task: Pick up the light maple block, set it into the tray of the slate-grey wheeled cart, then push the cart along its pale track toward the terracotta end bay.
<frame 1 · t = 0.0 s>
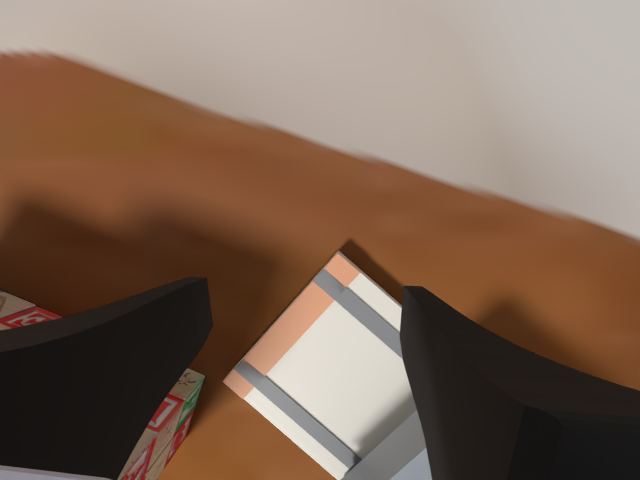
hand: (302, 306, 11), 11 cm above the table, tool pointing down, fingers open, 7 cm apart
track board: (392, 411, 22), on the table
stack of blocks: (82, 356, 25), on the table
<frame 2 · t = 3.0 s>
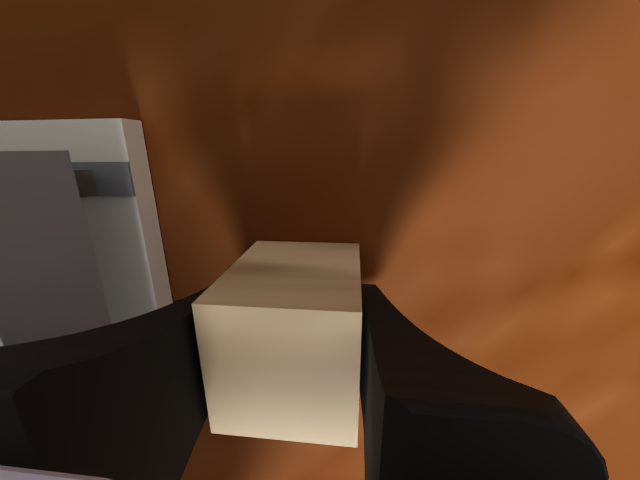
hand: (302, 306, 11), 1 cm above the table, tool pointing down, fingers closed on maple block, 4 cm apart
maple block: (308, 288, 12), on the table, touching gripper
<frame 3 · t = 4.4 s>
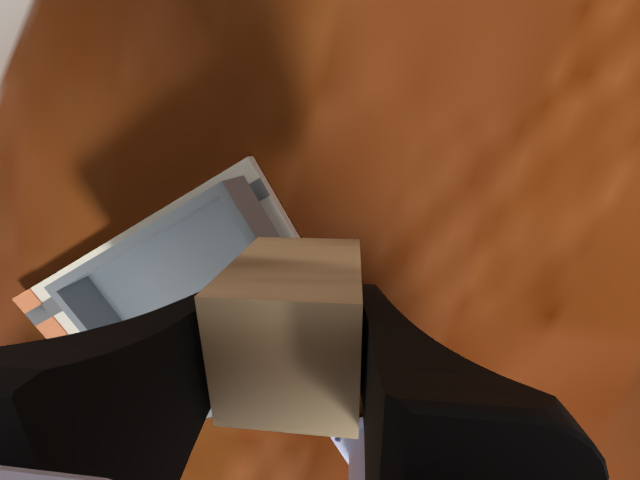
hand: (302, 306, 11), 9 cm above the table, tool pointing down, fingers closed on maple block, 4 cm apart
track board: (179, 306, 23), on the table
maple block: (309, 284, 12), point 8 cm above the table, touching gripper
cart: (208, 306, 18), point 4 cm above the table, slide at 0.0 cm
when the fingers open (6 cm above the table, at t = 5.9 s): maple block stays where it is, resting on cart.
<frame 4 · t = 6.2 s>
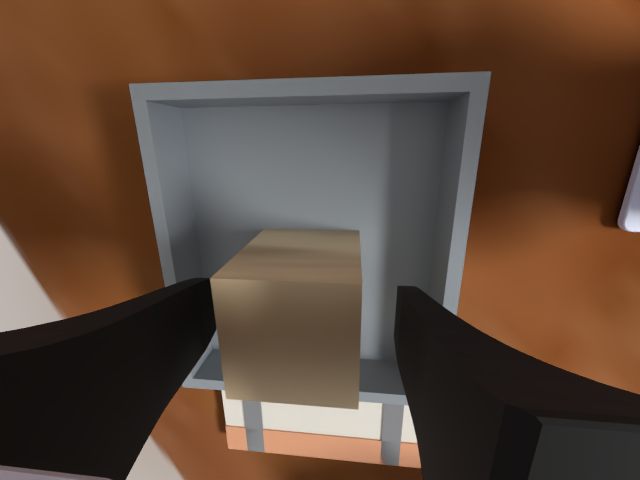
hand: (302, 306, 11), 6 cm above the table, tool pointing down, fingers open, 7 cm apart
track board: (321, 304, 18), on the table
maple block: (311, 274, 13), point 4 cm above the table, touching cart
cart: (311, 244, 13), point 4 cm above the table, slide at 0.0 cm, touching maple block
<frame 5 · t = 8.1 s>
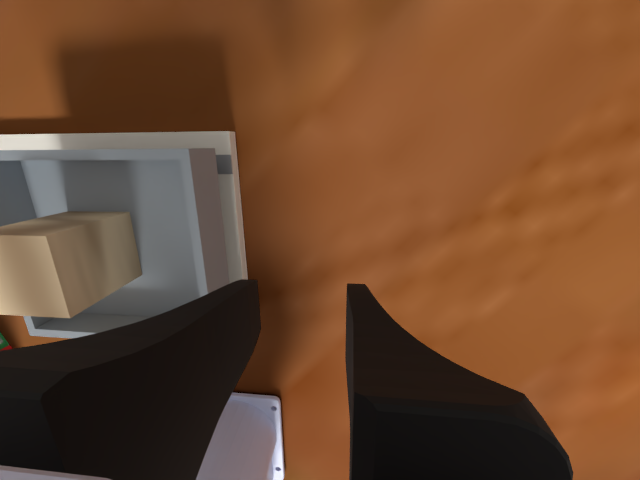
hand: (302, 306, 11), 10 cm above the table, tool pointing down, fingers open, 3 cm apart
track board: (102, 225, 23), on the table
maple block: (105, 243, 18), point 4 cm above the table, touching cart
cart: (128, 242, 18), point 4 cm above the table, slide at 0.0 cm, touching maple block
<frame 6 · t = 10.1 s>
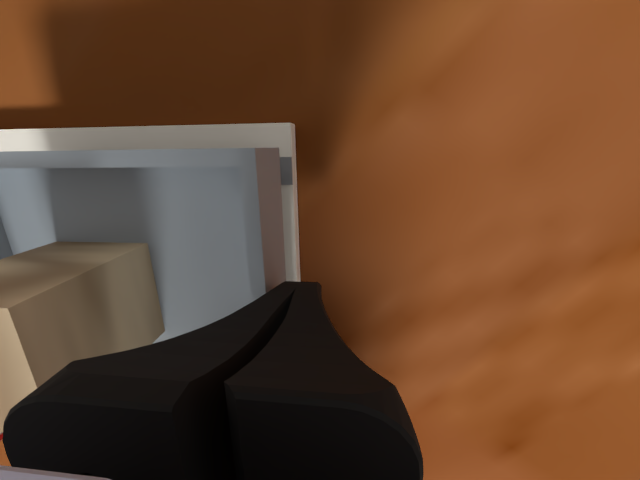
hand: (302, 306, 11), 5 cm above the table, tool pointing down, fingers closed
track board: (106, 252, 17), on the table
maple block: (112, 287, 13), point 4 cm above the table, touching cart
cart: (145, 285, 13), point 4 cm above the table, slide at 0.0 cm, touching gripper, maple block
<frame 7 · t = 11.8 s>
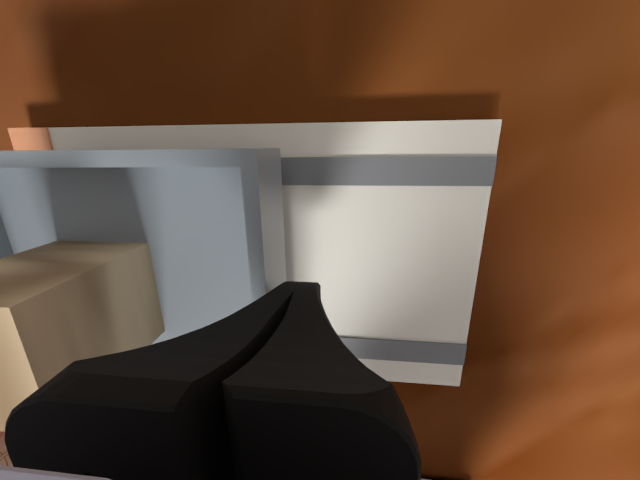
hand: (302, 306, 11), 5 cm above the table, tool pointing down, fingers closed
track board: (252, 256, 16), on the table
maple block: (112, 287, 13), point 4 cm above the table, touching cart
cart: (145, 284, 13), point 4 cm above the table, slide at 8.5 cm, touching gripper, maple block
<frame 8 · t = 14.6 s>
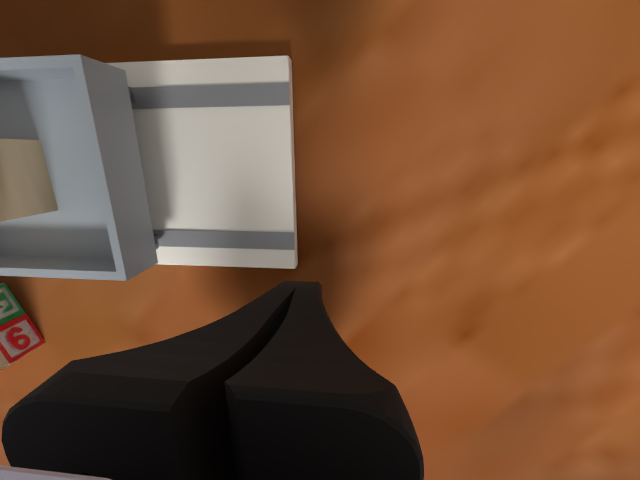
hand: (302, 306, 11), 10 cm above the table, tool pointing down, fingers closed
track board: (139, 171, 21), on the table
maple block: (18, 176, 18), point 4 cm above the table, touching cart
cart: (43, 175, 18), point 4 cm above the table, slide at 8.5 cm, touching maple block
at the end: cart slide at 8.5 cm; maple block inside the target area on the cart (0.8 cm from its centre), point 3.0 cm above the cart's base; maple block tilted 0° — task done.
